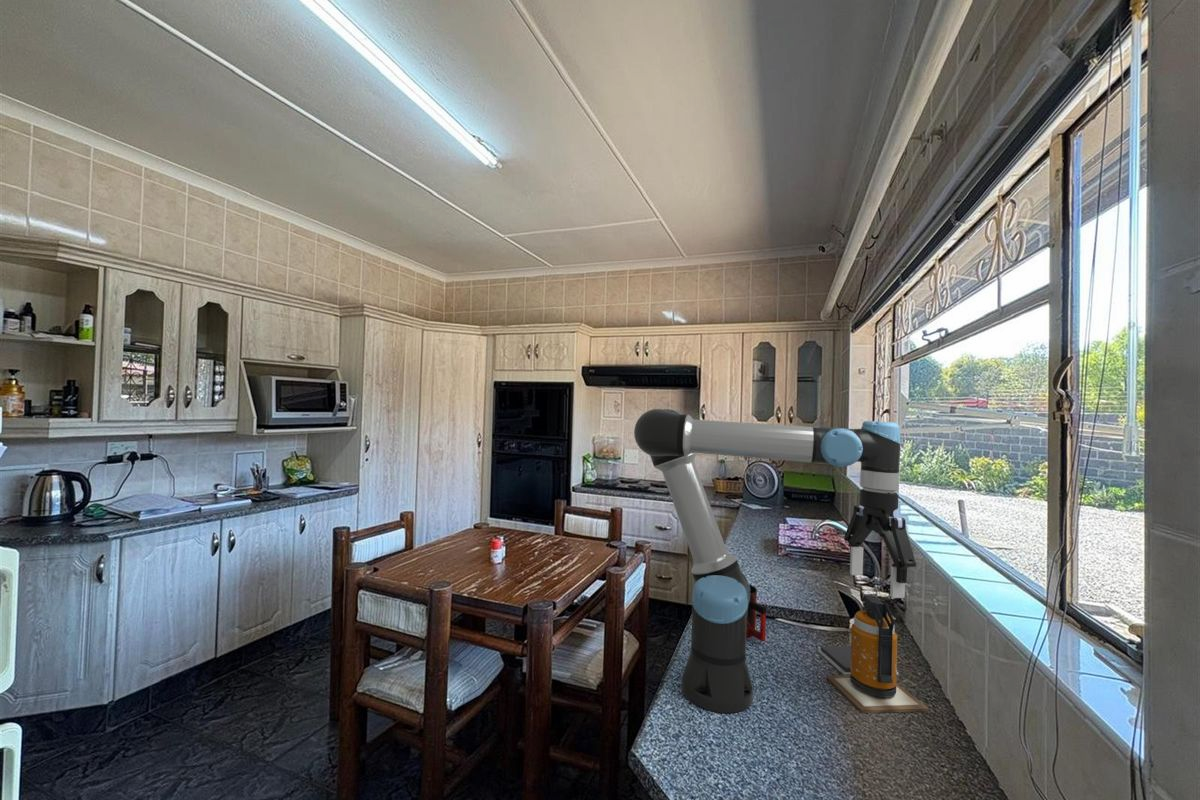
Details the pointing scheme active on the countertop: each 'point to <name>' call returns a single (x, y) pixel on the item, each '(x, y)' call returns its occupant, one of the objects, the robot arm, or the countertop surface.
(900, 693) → the box board
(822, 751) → the countertop surface
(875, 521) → the robot arm
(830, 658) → the ink pad
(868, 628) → the canister
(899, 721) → the countertop surface
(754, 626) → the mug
